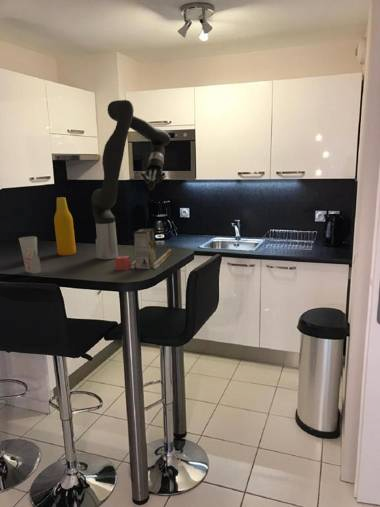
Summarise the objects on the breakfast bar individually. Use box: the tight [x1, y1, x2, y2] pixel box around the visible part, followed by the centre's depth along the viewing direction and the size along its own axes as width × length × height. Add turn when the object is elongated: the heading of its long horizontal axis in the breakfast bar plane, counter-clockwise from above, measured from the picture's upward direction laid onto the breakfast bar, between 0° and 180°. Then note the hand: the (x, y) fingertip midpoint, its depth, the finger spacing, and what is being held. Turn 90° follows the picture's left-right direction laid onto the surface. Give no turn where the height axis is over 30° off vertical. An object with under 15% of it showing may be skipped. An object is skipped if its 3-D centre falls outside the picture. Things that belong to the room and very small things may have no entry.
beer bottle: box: [53, 196, 77, 256], centre depth 210 cm, size 9×9×29 cm
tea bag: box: [23, 249, 42, 275], centre depth 179 cm, size 4×7×10 cm, turn 50°
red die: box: [114, 255, 132, 271], centre depth 178 cm, size 5×5×5 cm
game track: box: [130, 248, 173, 270], centre depth 191 cm, size 11×30×2 cm, turn 169°
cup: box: [18, 235, 38, 260], centre depth 196 cm, size 8×8×12 cm
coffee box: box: [133, 228, 157, 270], centre depth 180 cm, size 9×6×16 cm
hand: (150, 188), depth 201 cm, fingers closed
